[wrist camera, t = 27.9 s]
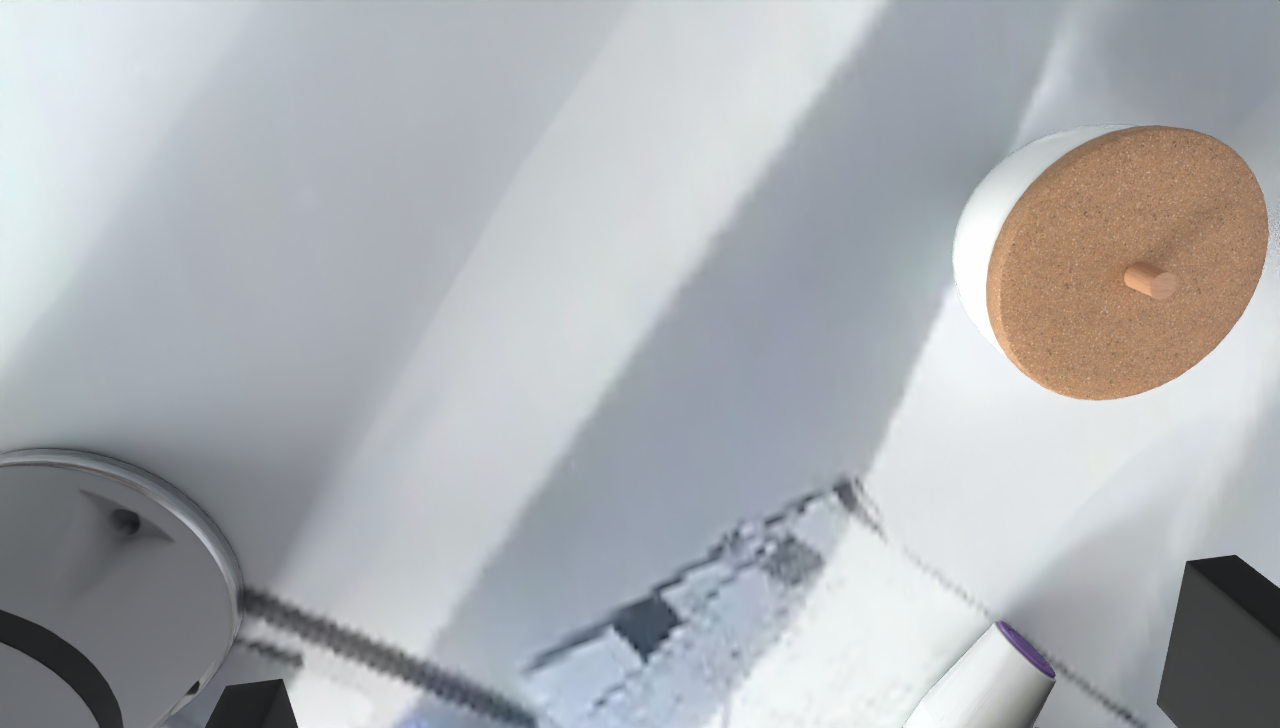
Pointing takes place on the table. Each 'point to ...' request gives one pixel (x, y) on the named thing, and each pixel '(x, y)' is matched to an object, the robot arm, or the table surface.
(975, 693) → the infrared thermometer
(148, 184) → the table surface
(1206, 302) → the trinket box
